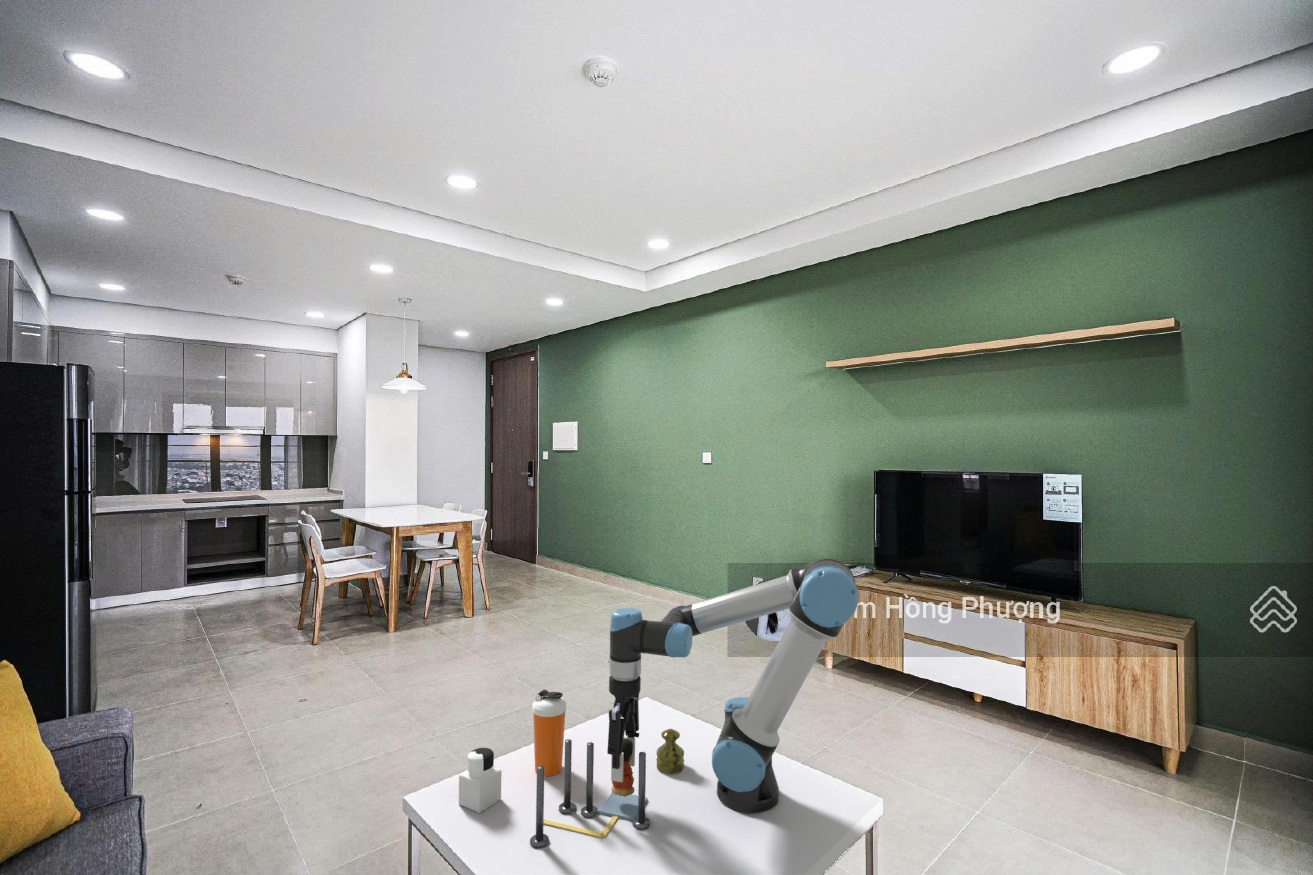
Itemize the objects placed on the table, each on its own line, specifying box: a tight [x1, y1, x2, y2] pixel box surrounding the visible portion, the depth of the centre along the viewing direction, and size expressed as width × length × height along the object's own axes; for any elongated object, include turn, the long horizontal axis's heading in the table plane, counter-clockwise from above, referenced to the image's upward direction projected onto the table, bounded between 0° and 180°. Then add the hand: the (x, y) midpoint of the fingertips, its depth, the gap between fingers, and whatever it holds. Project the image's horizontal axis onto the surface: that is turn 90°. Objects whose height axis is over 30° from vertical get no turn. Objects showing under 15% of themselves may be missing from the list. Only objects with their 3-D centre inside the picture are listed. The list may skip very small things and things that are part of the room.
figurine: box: [610, 738, 635, 797], centre depth 148 cm, size 6×6×12 cm
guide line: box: [543, 816, 619, 839], centre depth 142 cm, size 16×8×1 cm, turn 71°
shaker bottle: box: [531, 688, 567, 777], centre depth 164 cm, size 9×9×20 cm
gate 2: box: [580, 741, 651, 831], centre depth 143 cm, size 17×4×16 cm, turn 71°
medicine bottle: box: [458, 747, 502, 814], centre depth 149 cm, size 7×7×12 cm
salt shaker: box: [656, 728, 685, 775], centre depth 166 cm, size 7×7×10 cm
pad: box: [598, 792, 648, 822], centre depth 147 cm, size 9×9×1 cm
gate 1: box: [529, 738, 577, 849], centre depth 140 cm, size 4×17×16 cm, turn 161°
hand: (623, 772), depth 147 cm, fingers closed on figurine, 7 cm apart
